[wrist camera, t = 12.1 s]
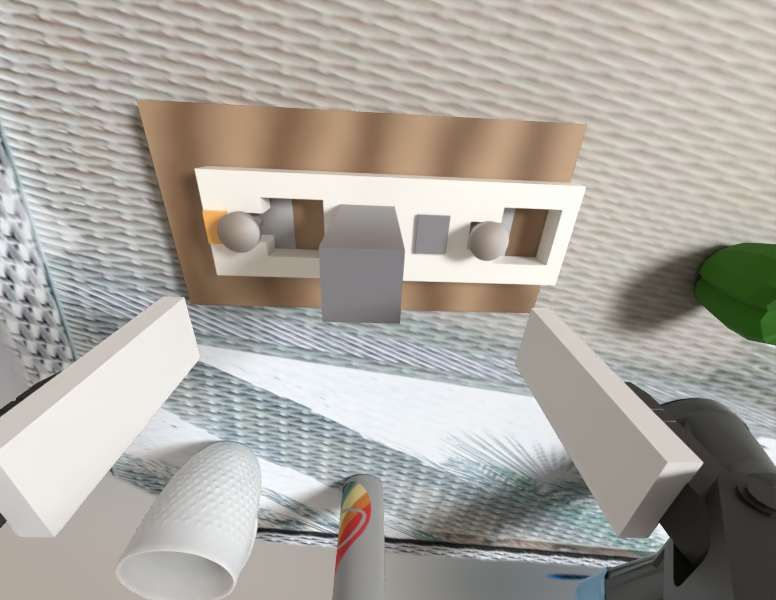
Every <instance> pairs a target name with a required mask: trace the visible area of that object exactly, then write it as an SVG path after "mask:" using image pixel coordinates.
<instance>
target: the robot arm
mask: <svg viewBox="0 0 776 600" xmlns="http://www.w3.org/2000/svg"><path fill="white" fill-rule="evenodd" d="M199 359H200V354H199V350H198V347H197V343H196V339H195V335H194V332H193V328H192V324H191V320H190V317H189V313H188V309H187V306H186V302H185V298H184V297H162V298H160V299H159V300H158V301H156V302H155V303H154V304H152V305H151V306H150V307H148V308H147V309H146V310H144V311H143V312H142V313H140V314H139V315H138V316H136V317H135V318H133V319H132V320H131V321H129V322H128V323H127V324H125V325H124V326H123V327H121V328H120V329H119V330H117V331H116V332H115V333H113V334H112V335H111V336H109V337H108V338H106V339H105V340H104V341H102V342H101V343H100V344H98V345H97V346H96V347H94V348H93V349H92V350H90V351H89V352H88V353H86V354H85V355H84V356H82V357H81V358H79V359H78V360H77V361H75V362H74V363H73V364H71V365H70V366H69V367H67V368H66V369H65V370H63V371H61V372H59V373H57V374H55V375H52V376H50V377H48V378H46V379H44V380H42V381H40V382H38V383H36V384H35V385H34V386H32V387H31V388H29V389H28V390H27V391H25V392H24V393H22V394H21V395H20V396H18V397H17V398H16V401H12V402H10V403H9V404H7V405H6V406H4V407H3V408H2V409H0V528H1V527H2V526H3V525H4V524H5V523H6V522H7V524H8V525H9V526H10V527H11V528H12V529H13V531H14V532H15V533H16V534H17V535H18V537H55V536H56V535H57V534H58V533H59V531H60V530H61V529H62V528H63V527H64V525H65V524H66V523H67V522H68V520H69V519H70V518H71V517H72V515H73V514H74V513H75V512H76V510H77V509H78V508H79V507H80V506H81V504H82V503H83V502H84V501H85V499H86V498H87V497H88V496H89V494H90V493H91V492H92V491H93V489H94V488H95V487H96V486H97V485H98V483H99V482H100V481H101V480H102V478H103V477H104V476H105V475H106V473H107V472H108V471H109V470H110V468H111V467H112V466H113V465H114V464H115V462H116V461H117V460H118V459H119V457H120V456H121V455H122V454H123V452H124V451H125V450H126V449H127V448H128V446H129V445H130V444H131V443H132V441H133V440H134V439H135V438H136V436H137V435H138V434H139V433H140V431H141V430H142V429H143V428H144V427H145V425H146V424H147V423H148V422H149V420H150V419H151V418H152V417H153V415H154V414H155V413H156V412H157V410H158V409H159V408H160V407H161V406H162V404H163V403H164V402H165V401H166V399H167V398H168V397H169V396H170V394H171V393H172V392H173V391H174V389H175V388H176V387H177V386H178V385H179V383H180V382H181V381H182V380H183V378H184V377H185V376H186V375H187V373H188V372H189V371H190V370H191V368H192V367H193V366H194V365H195V364H196V362H197V361H198V360H199ZM515 365H516V367H517V368H518V370H519V372H520V373H521V375H522V377H523V379H524V380H525V382H526V384H527V385H528V387H529V389H530V390H531V392H532V394H533V395H534V397H535V399H536V400H537V402H538V404H539V406H540V407H541V409H542V411H543V412H544V414H545V416H546V417H547V419H548V421H549V422H550V424H551V426H552V427H553V429H554V431H555V432H556V434H557V436H558V438H559V439H560V441H561V443H562V444H563V446H564V448H565V449H566V451H567V453H568V454H569V456H570V458H571V459H572V461H573V463H574V465H575V466H576V468H577V470H578V471H579V473H580V475H581V476H582V478H583V480H584V481H585V483H586V485H587V486H588V488H589V490H590V492H591V493H592V495H593V497H594V498H595V500H596V502H597V503H598V505H599V507H600V508H601V510H602V512H603V513H604V515H605V517H606V518H607V520H608V522H609V524H610V525H611V527H612V529H613V530H614V532H615V534H616V535H617V537H618V538H648V537H649V536H650V535H651V533H652V532H653V531H654V529H655V528H656V527H657V525H658V524H659V523H660V524H661V525H662V527H663V528H664V530H665V531H666V532H667V534H668V535H669V537H670V538H669V539H668V540H667V542H666V543H665V544H664V545H663V547H662V548H661V549H660V550H659V552H657V553H654V554H652V555H649V556H646V557H643V558H640V559H637V560H634V561H631V562H628V563H625V564H622V565H619V566H616V567H607V568H604V569H603V571H602V572H600V573H597V574H595V575H593V576H591V577H588V578H586V579H583V580H582V581H581V582H580V583H579V584H578V585H577V588H576V592H575V600H776V466H775V465H774V463H773V462H772V461H771V459H770V458H769V456H768V455H767V454H766V452H765V451H764V450H763V448H762V447H761V446H760V444H759V443H758V442H757V440H756V439H755V438H754V436H753V435H752V434H751V432H750V431H749V429H748V427H747V425H746V424H745V423H744V421H743V420H742V419H741V418H739V417H738V416H737V415H736V414H734V413H733V412H732V411H731V410H729V409H728V408H727V407H725V406H724V405H723V404H721V403H719V402H716V401H713V400H708V399H687V400H681V401H676V402H672V403H669V404H666V405H663V406H661V405H660V404H659V403H658V402H657V401H656V400H654V399H653V398H652V397H651V396H650V395H649V394H648V393H646V392H645V391H643V390H642V389H640V388H638V387H637V386H635V385H634V384H632V383H631V382H623V381H622V380H621V379H620V378H619V377H618V376H617V375H616V374H615V373H614V372H613V371H612V370H611V369H610V368H609V367H608V366H607V365H606V364H605V363H604V362H603V361H602V360H601V359H600V358H599V357H598V356H597V355H596V354H595V353H594V352H593V351H592V350H591V349H590V348H589V347H588V346H587V345H586V344H585V343H584V342H583V341H582V340H581V339H580V338H579V336H578V335H577V334H576V333H575V332H574V331H573V330H572V329H571V328H570V327H569V326H568V325H567V324H566V323H565V322H564V321H563V320H562V319H561V318H560V317H559V316H558V315H557V314H556V313H555V312H554V311H553V310H552V309H551V308H531V311H530V314H529V318H528V321H527V325H526V328H525V332H524V336H523V339H522V343H521V346H520V350H519V353H518V357H517V360H516V364H515Z"/></svg>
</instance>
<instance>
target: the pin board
mask: <svg viewBox="0 0 776 600" xmlns="http://www.w3.org/2000/svg"><path fill="white" fill-rule="evenodd" d="M136 101H137V104H138V108H139V112H140V116H141V119H142V123H143V127H144V131H145V134H146V138H147V142H148V146H149V149H150V153H151V157H152V161H153V164H154V168H155V172H156V175H157V179H158V183H159V187H160V190H161V194H162V198H163V202H164V205H165V209H166V213H167V217H168V220H169V224H170V228H171V232H172V235H173V239H174V243H175V246H176V250H177V254H178V258H179V261H180V265H181V269H182V273H183V276H184V280H185V284H186V288H187V291H188V295H189V299H190V303H191V304H196V305H235V306H274V307H313V308H322V299H321V281H320V278H294V277H260V276H226V275H217V272H216V267H215V262H214V258H213V253H212V248H211V244H209V241H208V237H207V232H206V227H205V223H204V218H203V213H202V211H203V206H202V202H201V197H200V192H199V188H198V183H197V179H196V174H195V168H200V167H205V166H220V167H242V168H264V169H286V170H308V171H330V172H351V173H373V174H395V175H417V176H439V177H461V178H483V179H505V180H527V181H548V182H571V178H572V175H573V172H574V168H575V165H576V161H577V158H578V154H579V151H580V148H581V144H582V141H583V137H584V134H585V130H586V127H587V124H572V123H554V122H536V121H518V120H500V119H482V118H464V117H446V116H428V115H409V114H391V113H373V112H355V111H337V110H319V109H301V108H283V107H265V106H247V105H229V104H211V103H193V102H175V101H157V100H139V99H136ZM269 200H270V208H269V209H268V210H267V211H265V212H264V213H246V212H242V211H234V212H231V213H229V214H227V215H225V216H223V217H222V218H221V219H220V220H219V222H218V224H217V234H218V237H219V239H220V241H221V242H222V244H223V245H224V246H225V247H227V248H228V249H230V250H232V251H234V252H238V253H245V252H248V251H251V250H252V249H253V248H254V247H255V246H256V245H257V244H258V243H259V242H260V240H261V236H262V234H263V235H274V242H275V248H282V249H312V250H319V246H320V244H321V242H322V240H323V238H324V236H325V231H324V209H323V200H312V199H288V198H269ZM548 211H549V209H529V208H505V207H504V212H503V217H502V222H501V223H496V222H493V221H485V222H471V225H470V231H469V237H468V247H469V249H470V251H471V252H472V253H473V255H474V256H475V257H476V258H478V259H480V260H483V261H491V260H494V259H497V258H498V257H500V256H518V257H536V255H537V251H538V248H539V244H540V240H541V237H542V233H543V229H544V226H545V222H546V218H547V215H548ZM539 288H540V285H530V284H496V283H462V282H428V281H403V286H402V300H401V310H430V311H469V312H508V313H530V311H531V308H534V305H535V302H536V299H537V295H538V292H539Z"/></svg>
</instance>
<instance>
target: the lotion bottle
mask: <svg viewBox="0 0 776 600" xmlns="http://www.w3.org/2000/svg"><path fill="white" fill-rule="evenodd" d="M335 567H336V568H335V577H334V587H333V599H332V600H385V558H384V501H383V486H382V483H381V481H380V480H379V479H378V478H376V477H374V476H371V475H365V474H362V475H356V476H353V477H351V478H349V479H348V480H347V481H346V482H345V484H344V487H343V494H342V503H341V514H340V524H339V535H338V545H337V556H336V566H335Z"/></svg>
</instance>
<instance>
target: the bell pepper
mask: <svg viewBox="0 0 776 600" xmlns="http://www.w3.org/2000/svg"><path fill="white" fill-rule="evenodd" d="M698 273H699V274H700V275H701V276H702V278H701V279H700V280H699V281H698V282H697V283H696V286H695V290H694V293H695V296H696V299H697V300H698V301H699V302H700V303H701V304H702V305H703V306H704V307H705V308H706V309H707V310H708V311H709V312H711V313H712V314H713V315H714V316H715V317H716V318H717V319H718V320H720V321H721V322H722V323H723V324H724V325H725V326H726V327H728V328H729V329H731V330H732V331H734V332H736V333H737V334H739V335H741V336H743V337H744V338H746V339H748V340H751V341H756V342H762V343H767V344H772V345H776V244H762V243H741V244H737V245H733V246H730V247H727V248H724V249H721V250H718V251H717V252H715V253H714V254H713V255H712V256H710V257H709V258H708V259H707V260H705V261H704V263H703V264H702V266H701V268H700V270H699V272H698Z"/></svg>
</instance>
